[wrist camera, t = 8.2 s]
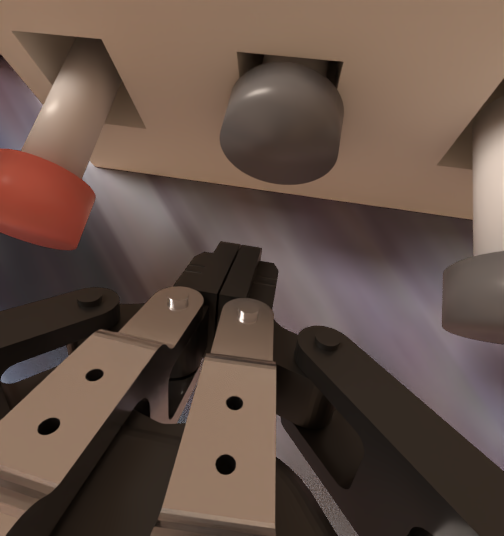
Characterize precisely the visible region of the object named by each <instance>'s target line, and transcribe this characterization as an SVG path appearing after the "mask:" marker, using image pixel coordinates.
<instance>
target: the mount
mask: <svg viewBox="0 0 504 536" xmlns="http://www.w3.org/2000/svg"><path fill="white" fill-rule="evenodd" d="M77 37H85V38H96V39H102V41H103V43H104V45H105V47H106V49H107V51H108V53H109V55H110V57H111V59H112V61H113V63H114V65H115V67H116V69H117V71H118V73H119V75H120V77H121V79H122V82H121V84H120V86H119V89H118V91H117V94H116V96H115V99H114V101H113V104H112V106H111V109H110V111H109V113H108V116H107V118H106V121H105V123H104V126H103V128H102V131H101V133H100V136H99V138H98V140H97V143H96V145H95V148H94V150H93V153H92V155H91V158H90V161H91V163H92V164H93V165H94V166H96V167H103V168H110V169H117V170H124V171H131V172H138V173H145V174H152V175H159V176H167V177H174V178H181V179H188V180H195V181H202V182H209V183H216V184H223V185H230V186H237V187H244V188H251V189H259V190H266V191H273V192H280V193H287V194H294V195H301V196H308V197H315V198H322V199H329V200H336V201H344V202H351V203H358V204H365V205H372V206H379V207H386V208H393V209H400V210H407V211H414V212H421V213H428V214H436V215H443V216H450V217H457V218H464V219H471V220H473V164H472V125H473V121H474V119H475V117H476V116H477V115H478V113H479V112H480V111H481V110H482V109H483V108H485V107H486V106H487V105H488V104H490V103H492V102H493V101H495V100H497V99H499V98H501V97H503V96H504V0H0V54H1V55H2V56H3V57H4V59H5V60H6V61H7V62H8V63H9V65H10V66H11V67H12V68H13V69H14V70H15V72H16V73H17V74H18V75H19V76H20V78H21V79H22V80H23V81H24V82H25V84H26V85H27V86H28V87H29V88H30V90H31V91H32V92H33V93H34V94H35V96H36V97H37V98H38V99H39V100H40V102H41V103H42V104H43V105H44V103H45V100H46V98H47V96H48V94H49V92H50V90H51V88H52V86H53V84H54V82H55V80H56V78H57V76H58V74H59V72H60V70H61V68H62V66H63V63H64V61H65V59H66V57H67V55H68V53H69V51H70V49H71V47H72V45H73V43H74V41H75V39H76V38H77ZM264 54H267V55H278V56H288V57H299V58H310V59H320V60H329V63H328V69H327V75H326V78H328V79H329V80H330V81H331V82H332V83H333V85H334V86H335V87H336V89H337V90H338V92H339V94H340V96H341V98H342V101H343V106H344V117H343V124H342V131H341V138H340V146H339V153H338V158H337V161H336V163H335V165H334V167H333V168H332V169H331V170H330V171H329V172H328V173H327V174H326V175H324V176H323V177H321V178H319V179H317V180H315V181H312V182H309V183H304V184H298V185H280V184H273V183H268V182H264V181H261V180H258V179H256V178H253V177H251V176H249V175H247V174H245V173H244V172H242V171H240V170H239V169H238V168H236V167H235V166H234V165H233V164H232V163H231V162H230V161H229V160H228V159H227V157H226V156H225V154H224V153H223V151H222V148H221V145H220V131H221V127H222V124H223V120H224V116H225V113H226V109H227V106H228V102H229V98H230V95H231V91H232V88H233V86H234V84H235V83H236V81H237V80H238V79H239V78H240V77H241V76H242V75H243V74H244V73H246V72H247V71H248V70H250V69H252V68H254V67H256V66H259V65H262V62H263V58H264Z"/></svg>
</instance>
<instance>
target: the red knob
mask: <svg viewBox="0 0 504 536" xmlns="http://www.w3.org/2000/svg"><path fill="white" fill-rule="evenodd" d="M121 82H122V79H121V77H120V75H119V73H118V71H117V69H116V67H115V65H114V63H113V61H112V59H111V57H110V55H109V53H108V51H107V49H106V47H105V45H104V43H103V41H102V39H96V38H85V37H77V38H76V39H75V41H74V43H73V45H72V47H71V49H70V51H69V53H68V55H67V57H66V59H65V61H64V63H63V66H62V68H61V70H60V72H59V74H58V76H57V78H56V80H55V82H54V84H53V86H52V88H51V90H50V92H49V94H48V96H47V98H46V100H45V103H44V105H43V107H42V109H41V111H40V113H39V115H38V117H37V119H36V121H35V123H34V125H33V127H32V129H31V131H30V133H29V135H28V138H27V140H26V142H25V144H24V146H23V148H22V150H21V151H18V150H12V149H0V232H1V233H3V234H6V235H8V236H11V237H14V238H17V239H19V240H22V241H26V242H29V243H32V244H36V245H40V246H44V247H48V248H53V249H59V250H74V249H76V248H77V246H78V243H79V241H80V238H81V235H82V233H83V230H84V228H85V225H86V222H87V220H88V217H89V215H90V212H91V209H92V207H93V204H94V202H95V198H96V196H95V193H94V191H93V190H92V189H91V188H90V186H89V185H88V184H86V183H85V182H84V181H83V180H82V177H83V175H84V172H85V170H86V167H87V165H88V163H89V160H90V158H91V155H92V153H93V150H94V148H95V145H96V143H97V140H98V138H99V136H100V133H101V131H102V128H103V126H104V123H105V121H106V118H107V116H108V113H109V111H110V109H111V106H112V104H113V101H114V99H115V96H116V94H117V91H118V89H119V86H120V84H121Z"/></svg>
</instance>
